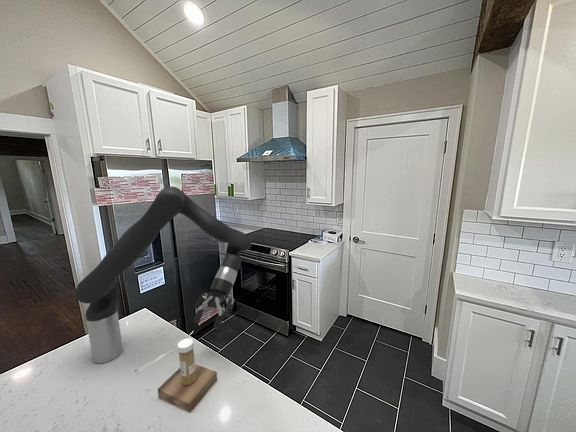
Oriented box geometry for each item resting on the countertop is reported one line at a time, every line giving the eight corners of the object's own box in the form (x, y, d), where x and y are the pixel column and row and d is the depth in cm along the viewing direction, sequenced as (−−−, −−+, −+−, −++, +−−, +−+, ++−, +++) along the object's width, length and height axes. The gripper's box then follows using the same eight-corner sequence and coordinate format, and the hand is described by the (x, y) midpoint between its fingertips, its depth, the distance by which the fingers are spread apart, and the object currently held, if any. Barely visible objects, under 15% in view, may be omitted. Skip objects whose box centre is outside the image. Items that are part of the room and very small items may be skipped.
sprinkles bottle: (197, 381, 74) (194, 343, 72) (182, 388, 72) (178, 349, 70) (194, 371, 78) (191, 335, 76) (180, 378, 76) (176, 341, 74)
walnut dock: (158, 397, 72) (157, 388, 72) (188, 368, 83) (187, 360, 83) (190, 412, 68) (189, 403, 67) (217, 379, 79) (216, 371, 78)
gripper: (204, 274, 89) (183, 318, 80) (235, 280, 84) (216, 327, 75) (214, 281, 95) (195, 323, 86) (244, 287, 90) (227, 332, 81)
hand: (205, 325), depth 81 cm, fingers open, 8 cm apart
